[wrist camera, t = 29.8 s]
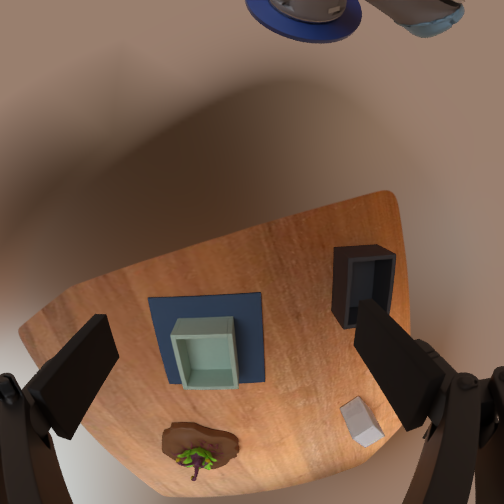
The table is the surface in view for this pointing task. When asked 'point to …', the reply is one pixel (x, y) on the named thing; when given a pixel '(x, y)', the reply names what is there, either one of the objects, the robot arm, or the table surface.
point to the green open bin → (206, 353)
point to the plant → (199, 446)
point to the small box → (361, 422)
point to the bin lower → (361, 280)
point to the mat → (236, 305)
